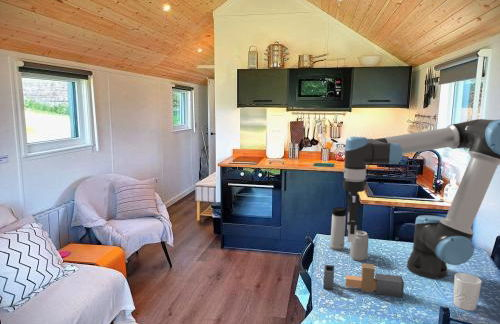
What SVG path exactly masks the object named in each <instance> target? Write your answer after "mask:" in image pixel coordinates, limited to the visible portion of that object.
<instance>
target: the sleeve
mask: <svg viewBox="0 0 500 324" xmlns="http://www.w3.org/2000/svg"><path fill="white" fill-rule="evenodd" d="M374 279H377V285H376V290H374V292H375V295H376V296H381V297H391V298H396V299H397V298H398V299H403V297H404V291H405V290H404V287H405V282H404V279H403V277H402V275H394V274H393V275H392V274H386V273H385V274H384V273H377V272H375V273H374Z"/></svg>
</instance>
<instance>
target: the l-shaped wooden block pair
mask: <svg viewBox="0 0 500 324" xmlns="http://www.w3.org/2000/svg"><path fill="white" fill-rule="evenodd" d="M375 271H376V269H375V265H374V264H373V263H364V262H363V263H361V273H360V274H361V275H360V276H357V275H356V276H355V275H349V274H348V275H347V274H346V275H345V287H347V288H355V289H360V290H361V292H366V293H374V291H375V290H376V285H377V279H375V273H376V272H375Z"/></svg>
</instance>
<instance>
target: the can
mask: <svg viewBox="0 0 500 324" xmlns="http://www.w3.org/2000/svg"><path fill="white" fill-rule="evenodd" d="M369 238H370V237H369V235H368V233H367V232H366V231H363V230H356V243H352V242H350V246H349V247H350V248H349V257H350V258H351V259H352V260H354V261H358V262H363V261H366V260H367V259H368V253H369V252H368V251H369V240H370V239H369Z"/></svg>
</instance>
